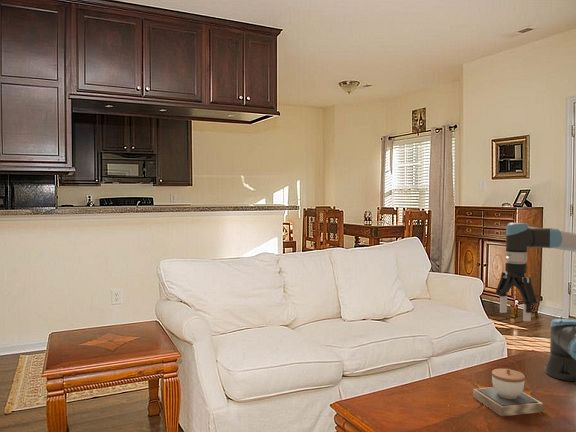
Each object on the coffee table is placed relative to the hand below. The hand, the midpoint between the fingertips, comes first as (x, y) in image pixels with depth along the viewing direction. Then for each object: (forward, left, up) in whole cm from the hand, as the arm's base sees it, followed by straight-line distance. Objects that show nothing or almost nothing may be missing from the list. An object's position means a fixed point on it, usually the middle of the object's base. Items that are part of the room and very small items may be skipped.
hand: (514, 316), depth 189 cm
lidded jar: (+15, +16, -24) cm, 32 cm away
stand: (+15, +16, -27) cm, 35 cm away
